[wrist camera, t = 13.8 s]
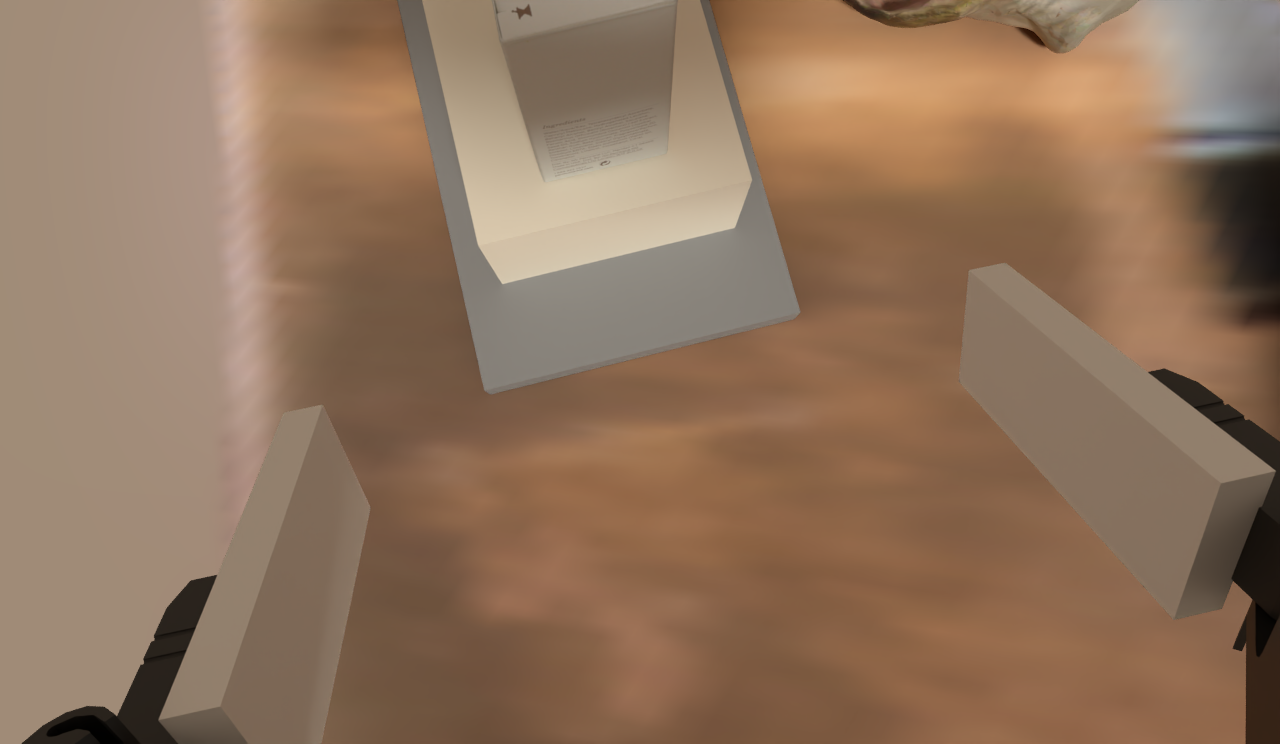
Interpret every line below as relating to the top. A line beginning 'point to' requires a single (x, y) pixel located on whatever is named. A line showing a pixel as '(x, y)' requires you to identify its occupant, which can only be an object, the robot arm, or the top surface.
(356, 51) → the top surface
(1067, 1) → the ceramic sculpture
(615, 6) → the small box
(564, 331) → the pedestal
